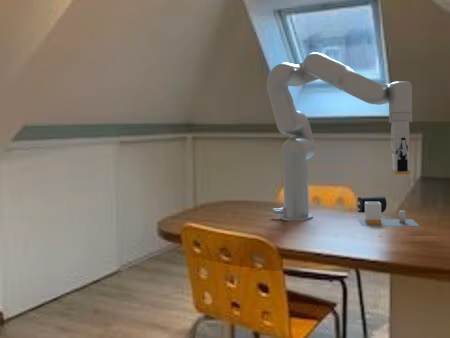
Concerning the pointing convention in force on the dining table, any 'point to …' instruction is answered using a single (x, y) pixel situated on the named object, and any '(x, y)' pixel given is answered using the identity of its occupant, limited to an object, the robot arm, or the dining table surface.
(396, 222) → the pin board
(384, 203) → the end cap
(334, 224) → the dining table surface
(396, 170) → the sleeve
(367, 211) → the seated sleeve
